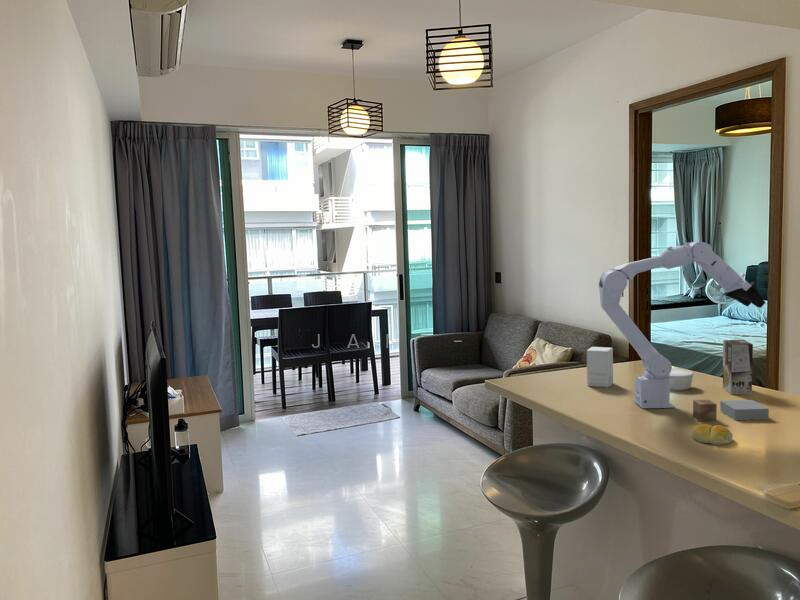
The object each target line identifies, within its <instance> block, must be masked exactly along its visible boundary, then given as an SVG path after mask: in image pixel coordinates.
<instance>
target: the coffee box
mask: <svg viewBox="0 0 800 600" xmlns="http://www.w3.org/2000/svg"><path fill="white" fill-rule="evenodd" d="M722 343H723V344H722V389H724V390H725V391H726V392H728V393H729V394H730V395H747V396H748V395H749V396H750V395H752V394H753V393H752V391H753V389H752V388H753V359H754V358H753V357H754V356H753V355H754V353H753V352H754V350H753V349H754V344H753V343H751V342H748V341H747V340H744V339H728V340H727V339H724V340H722Z"/></svg>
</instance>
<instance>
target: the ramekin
mask: <svg viewBox="0 0 800 600" xmlns="http://www.w3.org/2000/svg"><path fill="white" fill-rule="evenodd" d="M669 375H670V391H687V390H689V389H691V387H692V382H693V377H694V372H693V371H692V370H688V369H683V368H672V370H671V372H670V374H669ZM686 389H687V390H686Z"/></svg>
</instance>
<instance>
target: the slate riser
mask: <svg viewBox="0 0 800 600" xmlns="http://www.w3.org/2000/svg"><path fill="white" fill-rule="evenodd" d="M719 403H720V404H719V407H720V408H719V409H720V412H721V411H722V412H721V413H723V414H724V413H725V414H724V415H726V416H727V415H728V416H727V417H729V416H730V417H729V418H730V419H732V418H733V419H732V420H734V421H752V420H751V419H756V420H757V419H761V420H764V419H766V420H769V419H770V418H769V416H770V415H769V413H770V411H769V410H770V409H769V408H768V407H767V406H764V405H763V404H761V403H759V402H757V401H755V400H753V399H744V400H741V399H740V400H734V399H733V400H720V401H719ZM756 420H755V421H756ZM757 421H758V420H757Z"/></svg>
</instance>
